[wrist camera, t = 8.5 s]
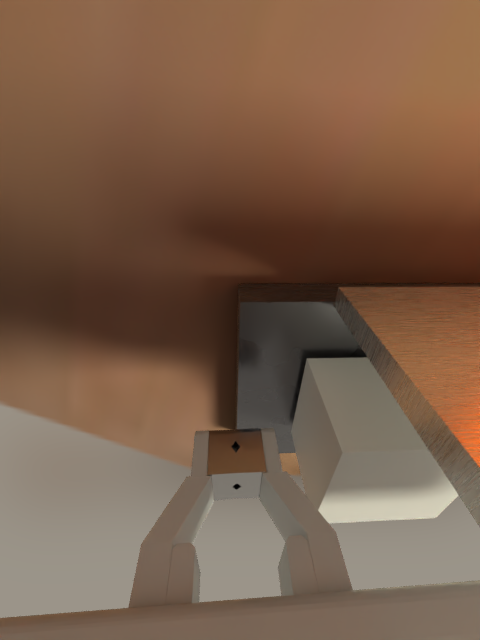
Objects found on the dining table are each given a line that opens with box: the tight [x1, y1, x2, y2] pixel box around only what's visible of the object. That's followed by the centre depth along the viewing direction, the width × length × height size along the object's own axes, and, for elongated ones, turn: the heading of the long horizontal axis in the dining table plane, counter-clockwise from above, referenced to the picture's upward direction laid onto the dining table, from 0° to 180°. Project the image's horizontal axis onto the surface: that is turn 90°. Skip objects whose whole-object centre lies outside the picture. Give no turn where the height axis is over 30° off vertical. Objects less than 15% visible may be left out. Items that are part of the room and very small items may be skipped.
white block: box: [291, 357, 458, 523], centre depth 11 cm, size 10×7×4 cm, turn 89°
